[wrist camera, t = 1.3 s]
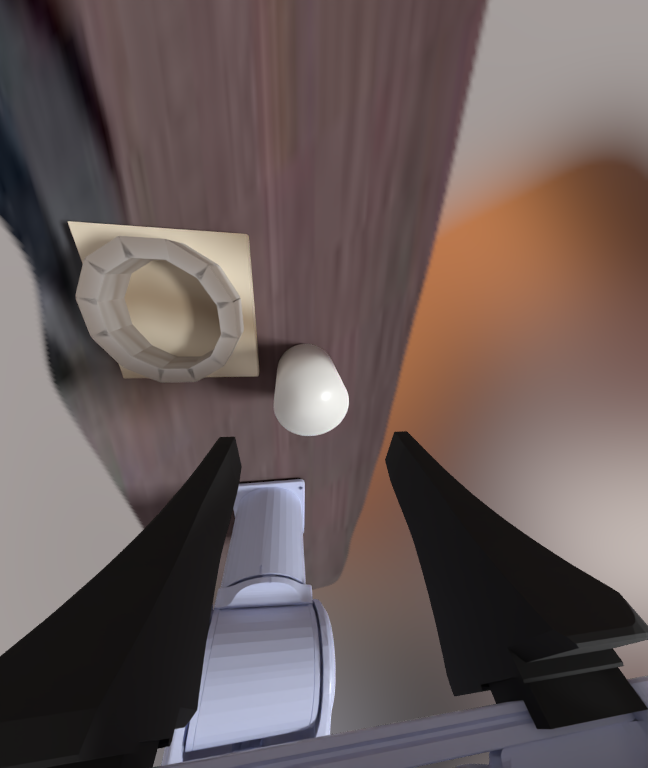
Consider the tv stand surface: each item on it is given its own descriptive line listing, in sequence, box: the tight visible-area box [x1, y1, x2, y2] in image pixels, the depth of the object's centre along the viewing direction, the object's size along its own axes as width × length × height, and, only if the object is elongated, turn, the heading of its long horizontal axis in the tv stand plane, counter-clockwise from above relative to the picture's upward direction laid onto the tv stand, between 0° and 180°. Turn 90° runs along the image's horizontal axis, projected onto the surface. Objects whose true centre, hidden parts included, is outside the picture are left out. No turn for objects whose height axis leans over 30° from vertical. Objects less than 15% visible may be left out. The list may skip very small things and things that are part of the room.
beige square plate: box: [68, 221, 260, 383], centre depth 16 cm, size 10×10×4 cm
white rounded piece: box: [274, 344, 349, 436], centre depth 18 cm, size 5×5×6 cm
